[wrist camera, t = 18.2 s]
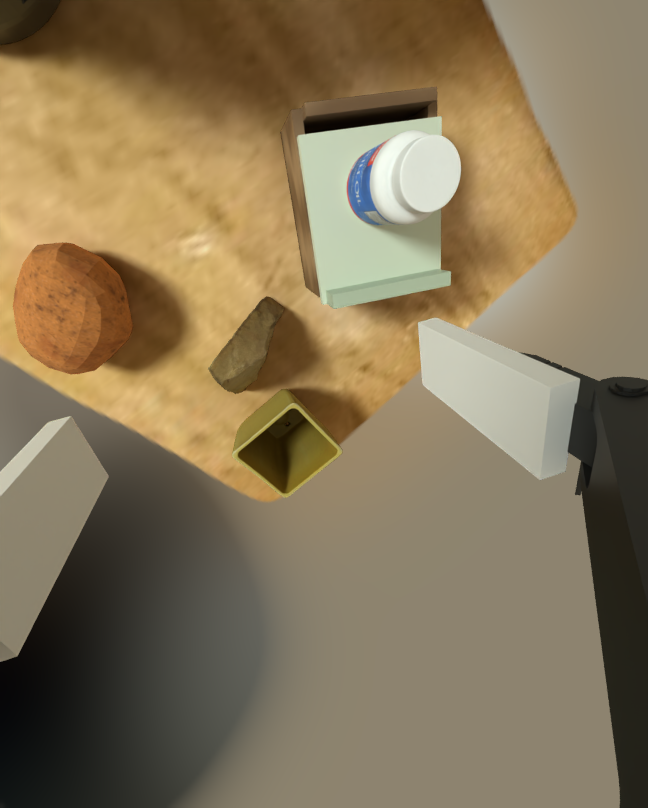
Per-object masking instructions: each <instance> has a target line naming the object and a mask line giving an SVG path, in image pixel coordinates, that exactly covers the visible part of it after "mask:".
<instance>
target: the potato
mask: <svg viewBox="0 0 648 808" xmlns="http://www.w3.org/2000/svg"><path fill="white" fill-rule="evenodd" d="M13 310H14V316H15V323H16V328H17V333H18V338H19V341H20V343H21V344H22V345H23V347H24V348H25V349H26V350H27V352H28V353H29V354H30V355H31V356H32V357H34V358H35V359H37V360H38V361H40V362H41V363H43V364H44V365H46V366H47V367H49V368H52V369H55V370H58V371H62V372H65V373H68V374H80V373H84V372H89V371H94V370H96V369H97V368H98V367H100V366H101V365H102V364H103V363H104V362H106V361H107V360H108V359H109V358H111V357H112V356H113V355H114V354H115V353H116V352H117V351H118V349H119V348H120V347H121V346H122V345H123V344H124V343H125V342H126V341H127V340H128V339H129V336H130V334H131V331H132V328H133V325H132V320H131V315H130V309H129V304H128V299H127V294H126V289H125V287H124V284H123V282H122V280H121V277H120V275H119V274H118V273H117V272H116V271H115V270H114V269H113V268H112V267H111V266H110V265H109V264H108V263H107V262H106V261H105V260H103V259H102V258H101V257H99V256H97V255H95V254H93V253H91V252H89V251H87V250H85V249H83V248H81V247H79V246H77V245H75V244H71V243H54V244H43V245H37V246H36V247H35V248H34V249H33V250H32V252H31V253H30V254H29V256H28V257H27V259H26V260H25V262H24V263H23V266H22V268H21V271H20V274H19V277H18V281H17V284H16V288H15V294H14V302H13Z"/></svg>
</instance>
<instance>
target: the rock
mask: <svg viewBox="0 0 648 808" xmlns="http://www.w3.org/2000/svg"><path fill="white" fill-rule="evenodd" d="M283 310H284V308H283V307H282V306H281V305H280V304H278V303H277V302H275V301H274V300H273V299H271V298H270V297H267V296H266V297H265V298H264V299H262V300H261V301H260V302H259V303H258V305H257V306H256V308H255V309H254V310H253V311H252V312H251V313H250V314H249V316H248V317H247V319H246V320H245V321H244V322H243V323H242V324H241V326H240V327H239V328H238V330H237V331H236V332H235V334H234V335H233V337H232V339H230V340H229V341H228V343H227V344H226V346H225V347H224V348H223V349H222V350H221V352H220V353H219V354H218V356H217V357H216V358H215V359H214V361H213V362H212V364H211V366H210V367H209V368H208V369H209V371H210V373H211V374H212V376H213V378H214V379H215V380H216V381H217V382H218V383H219V384H220V385H221V386H222V387H223V388H224V389H225V390H227V391H229V392H234V393H235V394H236V393H241V392H243V390H245V389H246V387H247V386H248V385H250V384H251V383H252V382H253V381H255V380H257V377H258V372H259V369H261V368H262V366H263V364H264V362H265V358H266V356H267V351H268V349H269V342H270V339H271V338H272V334H273V329H274V326H275V325H276V323H277V320H278V319H279V318H280V317H281V315H282V313H283Z"/></svg>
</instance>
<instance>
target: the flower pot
mask: <svg viewBox="0 0 648 808" xmlns="http://www.w3.org/2000/svg"><path fill="white" fill-rule="evenodd" d="M287 422H289V423H290V424H289V425H288V426H286V425H285V424H286V423H287ZM342 453H343V450H342V448H341V447H340V446H339V444H338V443H337V442H336V440H335V439H334V438H333V436H332V435H331V434H330V432H329V431H328V430H327V429H326V427H325V426H324V425H323V424H322V423H321V422H320V421H319V420H318V419H317V418H316V417H315V416H314V415H313V414H312V413H311V412H310V411H309V410H308V409H307V408H306V407H305V406H304V405H303V404H302V403H301V402H300V401H299V400H298V399H297V398H296V397H295V396H294V395H293V394H292V392H290V391H289V390H288V389H282V390H280V391H279V392H278V393H277V394H275V395H274V396H273V397H272V398H271V399H270V400H268V401H267V402H266V403H265V404H264V405H263V406H261V407H260V408H259V409H258V410H257V411H255V412H254V413H253V414H252V415H251V416H249V417H248V418H247V419H246V420H245V421H244V422H243V423H242V424H241V426H240V427H239V429H238V431H237V434H236V439H235V443H234V448H233V452H232V457H233V458H234V459H235V460H237V461H238V462H239V463H240V464H242V465H243V466H244V467H246V468H247V469H249V470H250V471H251V472H253V473H254V474H255V475H257V476H258V477H259V478H260V479H262V480H263V481H264V482H265V483H266V484H268V485H269V486H270V487H271V488H272V489H274V490H275V491H276V492H277V493H278V494H280V495H281V496H283V497H285V498H287V497H289V496H290V495H292V494H293V493H294V492H295V491H297V490H298V489H299V488H300V487H301V486H303V485H304V484H305V483H306V482H307V481H309V480H310V479H311V478H312V477H314V476H315V475H316V474H317V473H319V472H320V471H321V470H322V469H324V468H325V467H326V466H328V465H329V464H330V463H331V462H333V461H334V460H335V459H336V458H338V457H339V456H340V455H341V454H342Z"/></svg>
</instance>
